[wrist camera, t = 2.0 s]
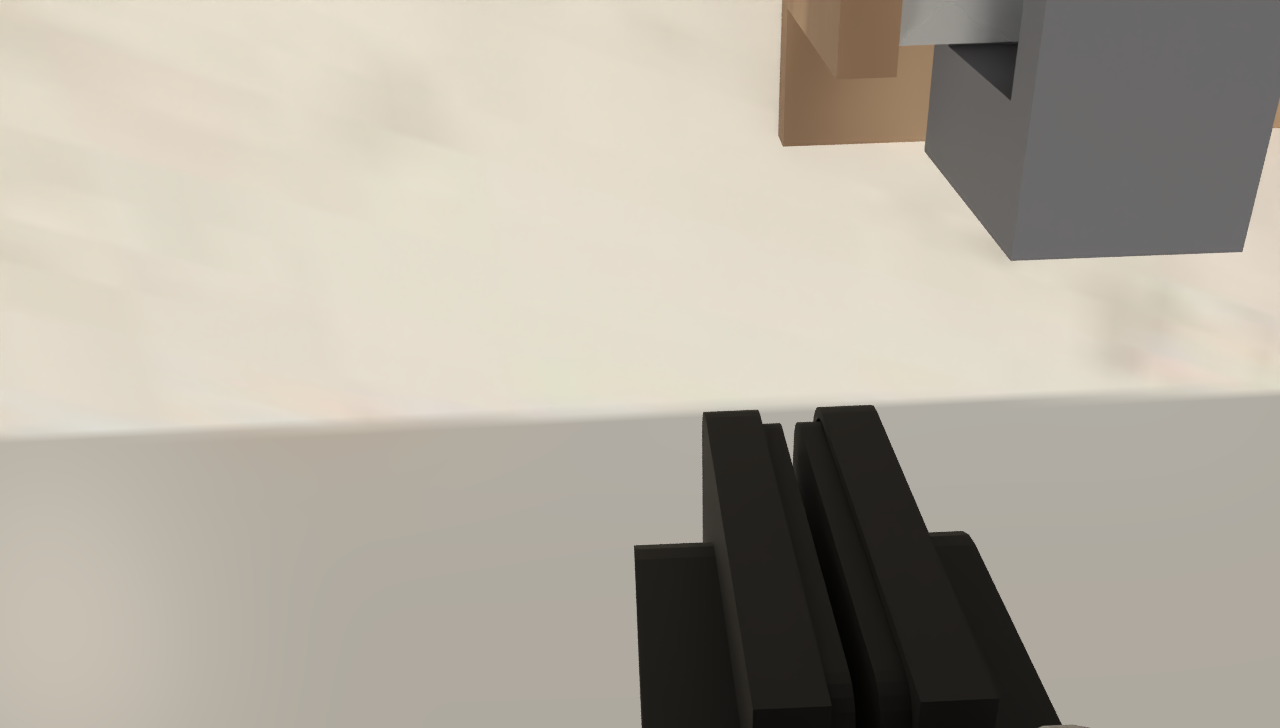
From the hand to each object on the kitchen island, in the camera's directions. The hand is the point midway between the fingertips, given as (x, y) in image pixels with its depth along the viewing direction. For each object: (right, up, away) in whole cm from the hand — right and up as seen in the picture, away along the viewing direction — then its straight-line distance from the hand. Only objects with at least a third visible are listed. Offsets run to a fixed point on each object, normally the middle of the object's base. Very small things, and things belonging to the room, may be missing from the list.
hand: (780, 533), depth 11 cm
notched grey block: (+7, +10, +11) cm, 17 cm away
